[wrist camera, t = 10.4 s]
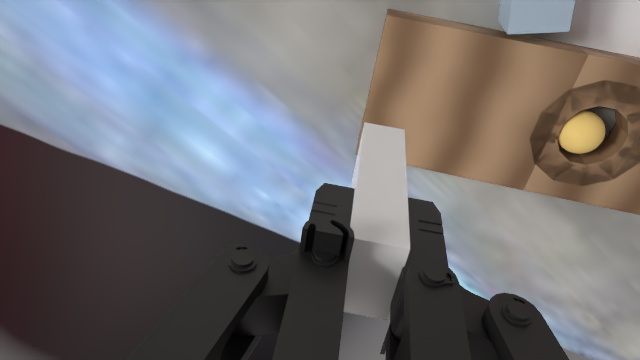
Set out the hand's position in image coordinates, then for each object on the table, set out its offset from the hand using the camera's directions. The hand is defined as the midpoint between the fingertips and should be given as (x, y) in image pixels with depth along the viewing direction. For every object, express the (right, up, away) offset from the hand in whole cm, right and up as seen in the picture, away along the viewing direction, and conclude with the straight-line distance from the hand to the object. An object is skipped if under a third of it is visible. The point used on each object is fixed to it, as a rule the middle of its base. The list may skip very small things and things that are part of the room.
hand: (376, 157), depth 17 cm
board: (+15, +5, +21) cm, 26 cm away
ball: (+19, +3, +19) cm, 27 cm away
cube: (+13, +13, +16) cm, 25 cm away
